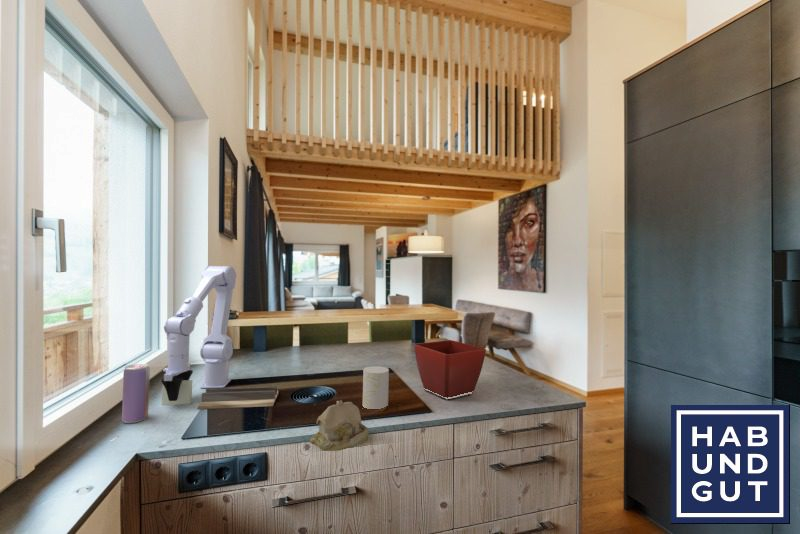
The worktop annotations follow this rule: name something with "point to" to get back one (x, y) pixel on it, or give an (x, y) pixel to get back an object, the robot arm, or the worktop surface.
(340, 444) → the ceramic model
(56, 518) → the worktop surface
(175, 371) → the robot arm
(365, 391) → the white cylinder
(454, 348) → the plant pot
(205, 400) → the base
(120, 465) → the worktop surface
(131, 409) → the beverage can
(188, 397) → the cream rectangular block
